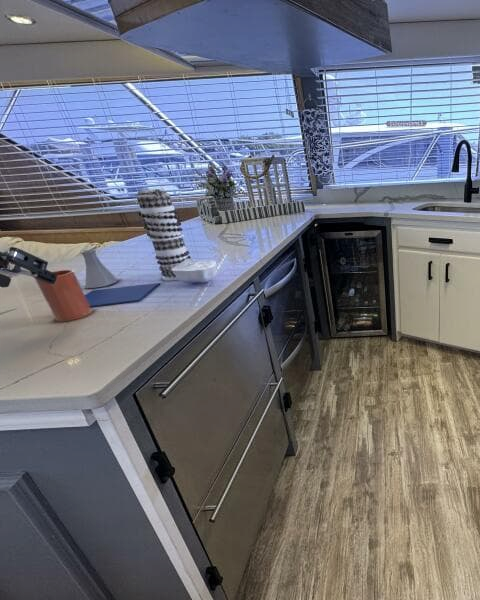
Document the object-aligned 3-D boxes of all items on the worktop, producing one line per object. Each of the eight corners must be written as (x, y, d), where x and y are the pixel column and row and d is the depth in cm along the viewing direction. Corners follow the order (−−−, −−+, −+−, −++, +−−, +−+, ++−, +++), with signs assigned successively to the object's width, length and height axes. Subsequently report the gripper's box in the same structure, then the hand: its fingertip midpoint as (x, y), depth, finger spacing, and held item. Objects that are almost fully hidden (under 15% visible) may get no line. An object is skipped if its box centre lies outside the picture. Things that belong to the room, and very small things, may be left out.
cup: (49, 323, 70) (26, 280, 66) (67, 312, 75) (47, 271, 71) (82, 319, 71) (61, 276, 67) (97, 308, 76) (79, 268, 73)
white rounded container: (200, 290, 85) (193, 265, 83) (168, 286, 89) (160, 263, 86) (230, 277, 94) (224, 255, 91) (199, 274, 98) (193, 253, 95)
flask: (94, 282, 95) (79, 249, 91) (122, 278, 97) (109, 246, 93) (80, 290, 89) (63, 255, 85) (111, 286, 91) (96, 252, 87)
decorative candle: (188, 279, 94) (160, 190, 84) (154, 282, 93) (121, 191, 83) (202, 270, 102) (177, 187, 92) (171, 272, 101) (142, 189, 91)
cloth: (61, 310, 76) (60, 309, 76) (93, 291, 88) (92, 290, 87) (139, 301, 80) (138, 299, 80) (159, 284, 91) (159, 282, 91)
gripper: (-16, 214, 51) (74, 262, 66) (-117, 219, 50) (-2, 267, 65) (-34, 254, 49) (64, 295, 64) (-141, 261, 47) (-15, 301, 62)
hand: (31, 281), depth 64 cm, fingers open, 8 cm apart
